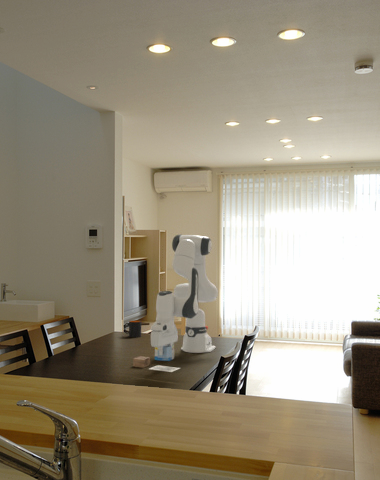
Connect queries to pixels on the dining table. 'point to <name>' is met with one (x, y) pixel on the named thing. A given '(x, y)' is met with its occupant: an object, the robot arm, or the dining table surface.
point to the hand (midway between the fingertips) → (164, 353)
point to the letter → (164, 368)
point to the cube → (166, 352)
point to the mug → (134, 328)
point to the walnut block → (141, 362)
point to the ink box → (164, 358)
